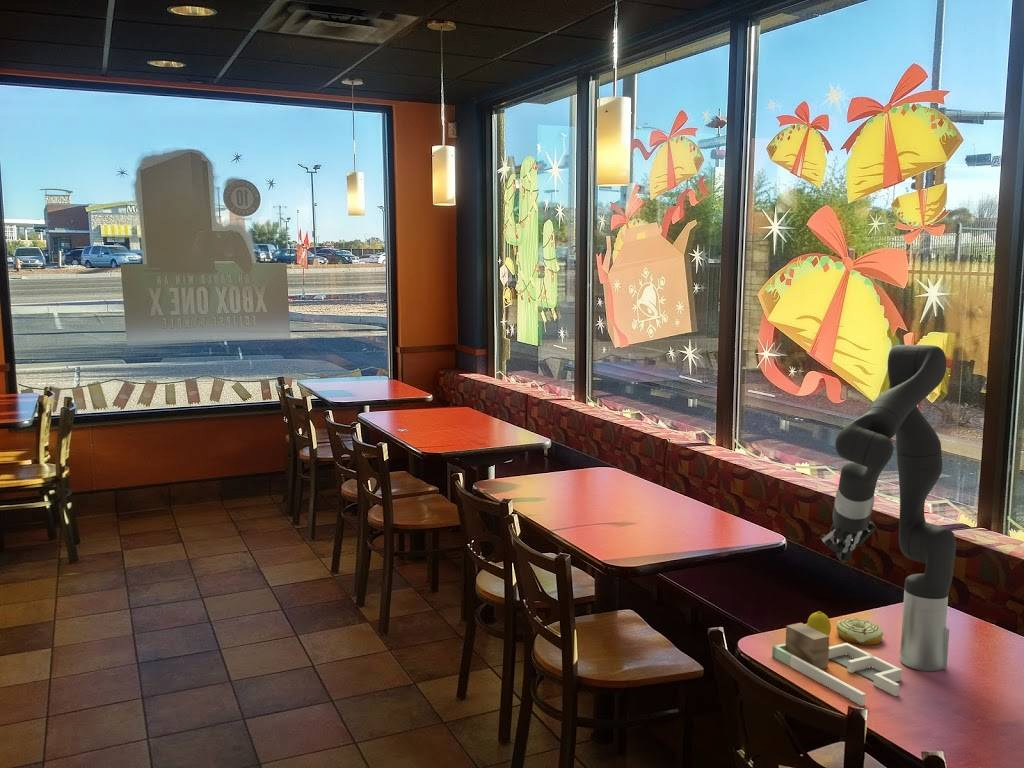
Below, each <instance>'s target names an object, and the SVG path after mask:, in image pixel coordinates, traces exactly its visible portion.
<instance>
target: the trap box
mask: <svg viewBox="0 0 1024 768" xmlns="http://www.w3.org/2000/svg"><path fill="white" fill-rule="evenodd" d="M846 654H847V655H846ZM852 657H853V658H852ZM854 658H855V659H854ZM828 660H831V661H833V662H834V661H835V663H836V662H837V663H836V664H838V665H840V664H841V665H840V666H842V665H843V666H842V667H844V666H845V667H844V668H846V670H847V672H848V673H850V674H851V673H856V674H857V675H859V676H861V675H862V676H861V677H863V676H864V677H863V678H866V679H867V678H868V680H869V679H870V680H869V681H871V682H872V683H873V684H872V685H873V686H874V687H876V688H878V689H880V690H882V691H885V692H886V693H888V694H890V695H892V696H894V697H898V696H900V686H901V685H900V683H897V682H899V681H902V672H903V669H902V668H900V667H898V666H895V664H894V665H893V664H891V663H889V662H887V661H885V660H884V659H881V658H880V657H878V656H875V655H873V654H871V653H869V652H868V651H865V650H863V649H860V648H858V647H856V646H855V645H852V644H850V643H848V642H843V643H840V644H836V645H830V646H829V652H828ZM789 667H791V668H793V669H794V670H796V671H798V672H800V673H801V674H803V675H805V676H807V677H808V678H810V679H812V680H814V681H816V682H818V683H819V684H821V683H822V684H821V685H823V686H825V687H826V686H827V687H826V688H828V687H829V688H828V689H830V690H832V691H834V692H835V691H836V692H835V693H837V692H838V694H839V693H840V695H841V694H842V695H841V696H843V695H844V696H845V697H844V696H843V697H844V698H846V697H847V698H846V699H848V698H849V699H848V700H849V701H851V702H854V703H855V704H857V705H859V706H860V707H863V706H865V705H866V696H867V695H866V693H865V692H863V691H861V690H860V689H858V688H856V687H854V686H852V685H850V684H849V683H846V682H844V681H842V680H841V679H839V678H837V677H836V676H834V675H831V674H830V673H827V672H825V671H824V670H823V669H819V668H817V667H815V666H813V665H811V664H809V663H808V662H806V661H804V660H802V659H800V658H798V657H796V656H794V655H793V656H791V659H790V666H789ZM869 667H870V668H869ZM872 667H873V668H872Z"/></svg>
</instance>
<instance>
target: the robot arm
mask: <svg viewBox="0 0 1024 768" xmlns="http://www.w3.org/2000/svg"><path fill="white" fill-rule="evenodd" d="M946 371H947V357H946V354H945V351H944V350H943V349H942V348H941V347H940V346H937V345H931V344H897V345H894V346H892V347H891V349H890V350H889V352H888V357H887V373H888V383H889V388H890V389H888V390H886V391H884V392H883V393H881V394H880V395H879V396H877V397H876V398H875V399H874V401H873V402H872V403H871V404H870V406H869V407H868V408H867V410H865V412H864V414H863V415H861V416H859V417H858V418H856V419H854V420H853V421H851V422H850V423H848V424H846V426H844V427H843V428H842V430H840V432H839V433H838V435H837V437H836V438H835V445H834V446H835V450H836V454H837V455H838V456H839V457H841V458H842V459H845V460H847V461H849V462H846V463H845V464H844V465H843V466H842V468H841V471H840V476H839V481H838V487H837V490H836V491H835V492H836V493H835V497H834V498H835V499H834V504H833V510H832V514H831V515H832V517H831V518H832V525H831V527H830V530H829V533H827V534H825V533H823V534H821V535H820V537H819V539H820V540H821V541H822V542H823V544H825V546H826V547H827V548H828V549H831V550H832V552H834V553H836V557H837V558H838V559H839V561H840V562H842V563H847V562H850V560H851V557H853V552H854V550H855V549H856V547H861V546H862V545H863V544H864V543H865V541H867V539H869V537H870V536H871V535H872V534H873V533H874V532H875V531H876V530H877V525H876V524H875V523H874V522H873V521H872V520H871V518H872V513H873V507H874V503H875V494H876V493H875V492H876V488H877V487H876V486H877V483H878V479H879V477H880V475H881V473H882V471H883V470H884V469H885V468H886V466H887V465H888V463H889V462H890V460H891V458H892V456H893V453H894V444H893V441H892V440H891V439H892V438H893V437H894V436H895V446H896V450H895V451H896V462H897V471H898V485H899V522H898V543H899V549H900V551H901V553H902V555H904V557H906V558H908V559H910V560H913V561H916V562H917V563H922V564H924V565H925V564H926V565H925V570H924V573H914V574H910V575H908V576H907V577H905V579H904V589H903V603H902V604H903V607H902V619H901V638H900V639H901V640H900V650H899V655H900V656H899V660H900V663H902V665H905V666H906V667H908V668H910V669H914V670H918V671H923V672H937V671H940V670H947V669H948V656H949V641H950V628H949V627H948V626H947V620H948V619H947V618H948V603H949V602H948V601H949V591H950V587H951V585H952V582H953V577H954V575H953V574H954V566H955V560H956V551H957V540H956V536H955V533H954V532H953V531H952V530H951V529H949V528H948V527H945V526H941V525H938V524H935V523H930V522H927V521H926V517H925V504H926V500H927V497H928V496H929V494H930V492H931V491H932V490H933V488H934V486H935V485H936V484H937V482H938V480H939V479H940V476H941V474H942V471H943V458H942V455H943V454H942V453H943V452H942V443H941V440H940V438H939V436H938V434H937V433H936V431H935V429H934V428H933V426H932V425H931V424H930V423H929V421H928V420H927V419H926V417H925V416H924V415H923V413H922V412H921V411H920V408H918V406H919V404H920V403H922V402H923V401H924V400H925V399H926V398H927V397H928V396H929V395H930V394H931V393H932V392H933V391H935V389H936V388H938V387H939V385H940V384H941V383H942V382H943V380H944V379H945V375H946ZM835 538H836V542H835Z"/></svg>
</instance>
